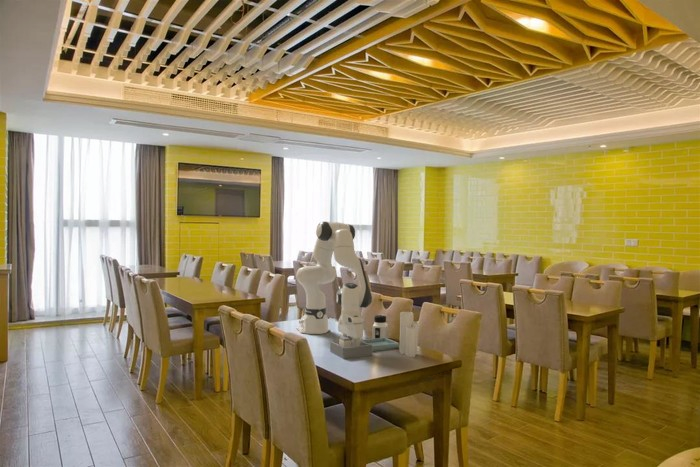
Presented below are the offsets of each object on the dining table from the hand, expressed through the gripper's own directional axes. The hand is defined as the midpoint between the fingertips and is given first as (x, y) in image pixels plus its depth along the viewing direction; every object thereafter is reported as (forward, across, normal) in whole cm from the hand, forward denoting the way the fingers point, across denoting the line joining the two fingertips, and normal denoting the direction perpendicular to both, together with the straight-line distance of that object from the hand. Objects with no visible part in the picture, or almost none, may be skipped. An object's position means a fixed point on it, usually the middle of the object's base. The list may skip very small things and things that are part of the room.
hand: (349, 344), depth 244 cm
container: (+4, -20, +30) cm, 36 cm away
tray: (+4, -5, +19) cm, 20 cm away
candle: (+4, +14, +26) cm, 30 cm away
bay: (+4, +1, 0) cm, 4 cm away
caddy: (+4, 0, 0) cm, 4 cm away
